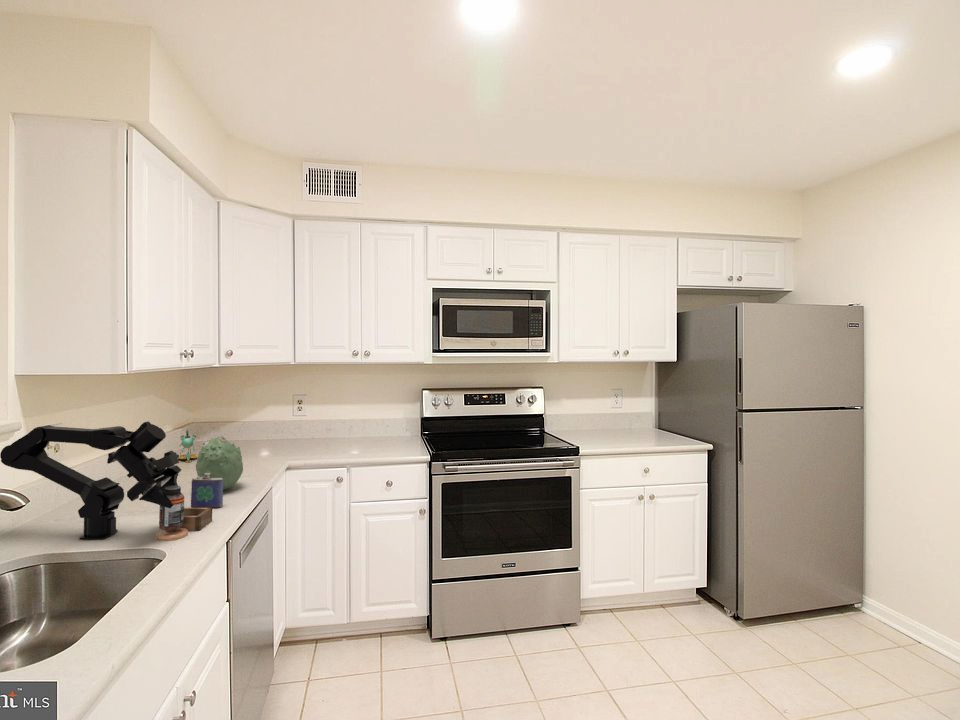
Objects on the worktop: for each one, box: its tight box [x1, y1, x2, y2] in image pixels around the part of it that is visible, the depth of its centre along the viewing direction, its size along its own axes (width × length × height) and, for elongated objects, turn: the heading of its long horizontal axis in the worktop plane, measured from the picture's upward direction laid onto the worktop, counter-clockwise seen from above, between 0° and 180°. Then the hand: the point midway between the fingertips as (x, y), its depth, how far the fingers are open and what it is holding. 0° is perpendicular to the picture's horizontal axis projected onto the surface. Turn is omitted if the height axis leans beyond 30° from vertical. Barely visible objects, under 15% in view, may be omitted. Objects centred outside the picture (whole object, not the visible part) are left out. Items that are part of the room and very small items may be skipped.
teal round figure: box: [178, 429, 199, 464], centre depth 244 cm, size 10×18×15 cm, turn 17°
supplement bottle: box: [158, 485, 185, 531], centre depth 147 cm, size 6×6×11 cm
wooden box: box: [180, 507, 213, 532], centre depth 155 cm, size 10×9×4 cm
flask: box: [190, 473, 224, 510], centre depth 173 cm, size 10×3×12 cm, turn 95°
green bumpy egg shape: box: [195, 435, 244, 491], centre depth 193 cm, size 16×19×20 cm
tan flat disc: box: [155, 528, 189, 542], centre depth 147 cm, size 8×8×1 cm
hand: (177, 503), depth 147 cm, fingers closed on supplement bottle, 6 cm apart
